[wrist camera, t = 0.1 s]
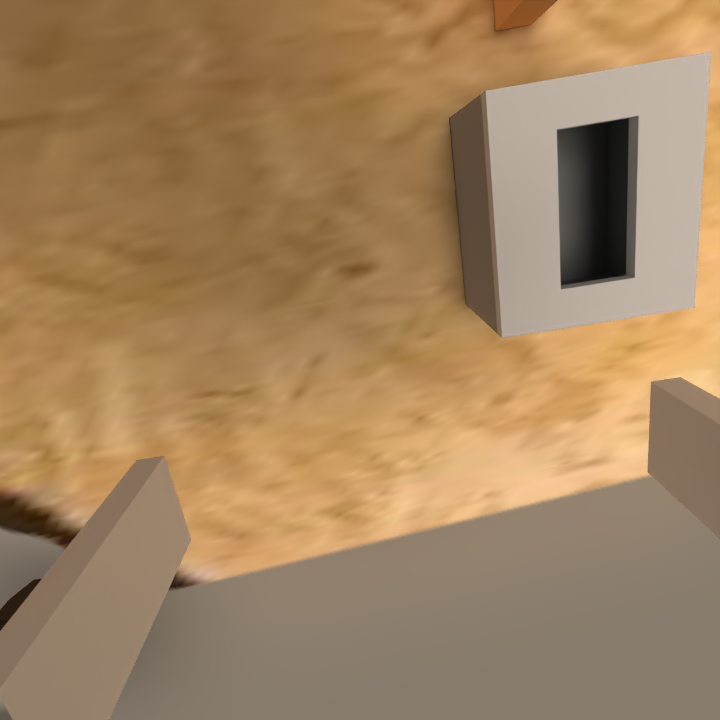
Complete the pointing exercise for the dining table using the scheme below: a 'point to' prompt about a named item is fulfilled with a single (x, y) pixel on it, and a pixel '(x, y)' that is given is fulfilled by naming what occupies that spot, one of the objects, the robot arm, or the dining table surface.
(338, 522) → the dining table surface
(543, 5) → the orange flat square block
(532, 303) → the box with rectangular hole
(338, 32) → the dining table surface
